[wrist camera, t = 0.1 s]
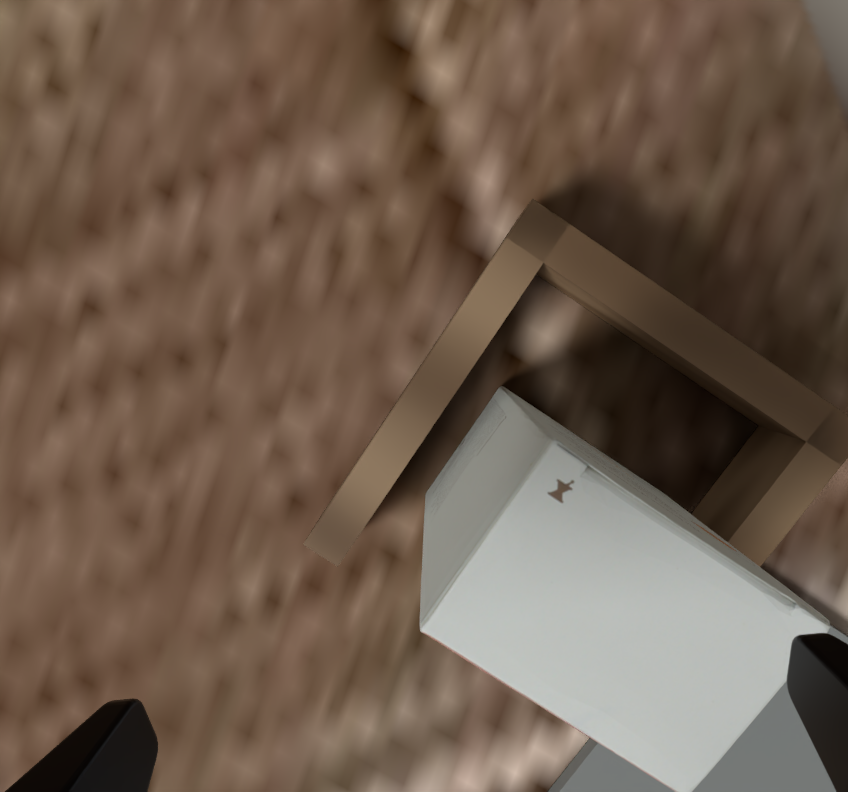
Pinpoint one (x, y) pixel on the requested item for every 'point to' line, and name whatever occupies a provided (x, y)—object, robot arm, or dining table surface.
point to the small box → (601, 596)
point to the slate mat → (735, 772)
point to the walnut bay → (652, 329)
